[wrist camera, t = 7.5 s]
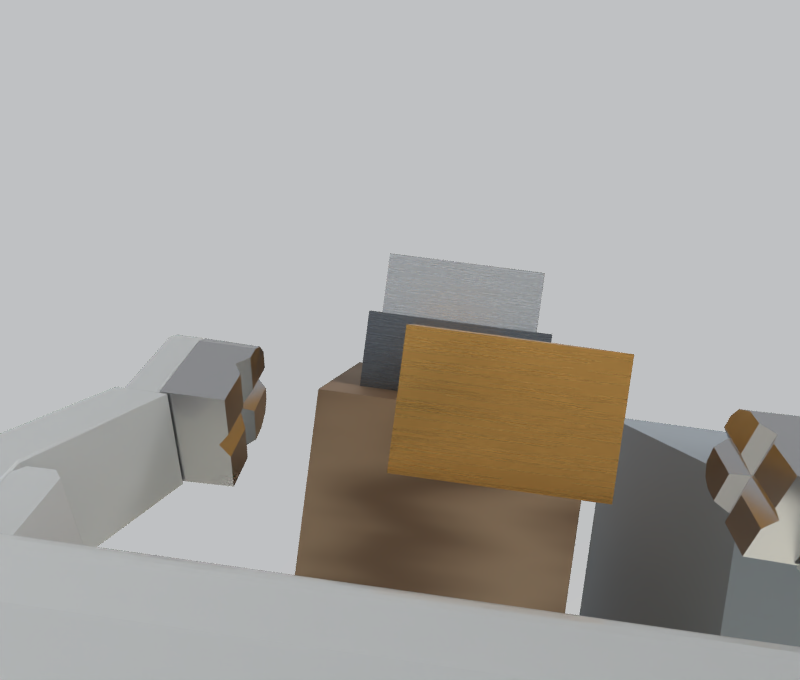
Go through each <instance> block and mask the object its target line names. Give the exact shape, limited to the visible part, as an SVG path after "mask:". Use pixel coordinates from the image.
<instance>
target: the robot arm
mask: <svg viewBox="0 0 800 680" xmlns="http://www.w3.org/2000/svg"><path fill="white" fill-rule="evenodd" d="M264 368H265V366H264V355H263V351H262V349H261V348H260V347H259V346H252V345H245V344H239V343H232V342H225V341H218V340H212V339H203V338H198V337H190V336H183V335H175V336H171V337H170V338H169V339H168V340H167V341H166V342H165V343H164V344H163V345H162V346H161V348H160V349H159V350H158V351H157V352H156V353H155V354H154V356H153V357H152V358H151V359H150V360H149V361H148V362H147V363H146V365H145V366H144V367H143V368H142V369H141V370H140V371H139V372H138V373H137V375H136V376H135V377H134V378H133V379H132V380H131V381H130V383H129V384H128V385H127V386H126V387H125V388H120V387H114V388H112V389H109V390H107V391H104V392H102V393H99V394H97V395H94V396H92V397H89V398H87V399H84V400H82V401H79V402H77V403H74V404H72V405H70V406H67V407H65V408H62V409H60V410H57V411H55V412H52V413H50V414H47V415H45V416H43V417H40V418H38V419H35V420H33V421H30V422H28V423H25V424H23V425H20V426H18V427H15V428H13V429H10V430H8V431H5V432H3V433H0V680H800V647H797V646H790V645H783V644H776V643H769V642H762V641H755V640H748V639H741V638H734V637H727V636H720V635H713V634H706V633H699V632H692V631H685V630H678V629H671V628H664V627H657V626H650V625H643V624H636V623H629V622H622V621H615V620H608V619H601V618H593V617H586V616H579V615H572V614H565V613H558V612H551V611H544V610H537V609H530V608H523V607H516V606H509V605H502V604H495V603H488V602H481V601H474V600H467V599H459V598H452V597H445V596H438V595H431V594H424V593H417V592H410V591H403V590H396V589H389V588H382V587H375V586H368V585H361V584H354V583H347V582H340V581H333V580H326V579H319V578H312V577H304V576H297V575H290V574H283V573H275V572H269V571H262V570H255V569H248V568H241V567H234V566H227V565H220V564H213V563H206V562H198V561H192V560H185V559H178V558H171V557H164V556H157V555H150V554H142V553H135V552H128V551H121V550H114V549H107V548H100V547H97V546H99V545H100V544H101V543H103V542H104V541H105V540H107V539H108V538H109V537H111V536H112V535H114V534H115V533H116V532H118V531H119V530H120V529H122V528H123V527H124V526H126V525H127V524H129V523H130V522H131V521H133V520H134V519H135V518H137V517H138V516H139V515H141V514H142V513H144V512H145V511H146V510H148V509H149V508H150V507H152V506H153V505H154V504H156V503H157V502H158V501H160V500H161V499H163V498H164V497H165V496H167V495H168V494H169V493H171V492H172V491H173V490H175V489H176V488H178V487H179V486H180V485H182V484H183V481H188V482H198V483H207V484H216V485H225V486H234V485H235V483H236V480H237V478H238V476H239V474H240V472H241V470H242V468H243V466H244V464H245V462H246V460H247V444H249V443H251V442H252V441H254V440H256V438H257V436H258V434H259V432H260V429H261V426H262V423H263V419H264V415H265V408H266V407H265V406H266V388H265V387H264V385H263V384H262V383H261V382H260V380H259V377H260V375H261V373H262V372H263V370H264ZM724 428H725V430H726V433H727V436H728V439H726V440H724V441H723V442H721V443H719V444H718V445H716V446H714V447H713V449H712V452H711V454H710V456H709V458H708V460H707V463H706V475H705V478H706V483H707V487H708V490H709V492H710V494H711V496H712V498H713V500H714V501H715V502H716V503H717V504H718V505H719V506H721V507H722V508H723V509H724V510H726V511H727V512H728V515H727V518H726V521H725V524H726V526H727V528H728V529H729V531H730V533H731V535H732V537H733V539H734V541H735V543H736V545H737V547H738V549H739V550H740V552H741V554H742V556H743V557H749V558H755V559H761V560H768V561H774V562H780V563H786V564H792V565H798V566H797V567H796V568H797V569H798V570H799V571H800V416H793V415H784V414H775V413H767V412H758V411H750V410H740V409H739V410H738V411H736V412H735V413H734V414H733V415H731V417H730V418H729V420H728V422H727V424H726V425H725V427H724Z"/></svg>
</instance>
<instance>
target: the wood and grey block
mask: <svg viewBox="0 0 800 680" xmlns="http://www.w3.org/2000/svg"><path fill="white" fill-rule="evenodd" d="M544 275H545V274H544V273H539V272H532V271H524V270H515V269H508V268H499V267H492V266H485V265H476V264H468V263H461V262H453V261H445V260H438V259H430V258H422V257H414V256H406V255H398V254H390V259H389V268H388V275H387V282H386V290H385V298H384V305H383V312H376V311H369V318H368V326H367V334H366V342H365V349H364V357H363V365H362V372H361V380H360V386H365V387H372V388H379V389H387V390H394V391H398V393H397V400H396V408H395V415H394V423H393V431H392V438H391V446H390V453H389V461H388V468H387V473H391V474H398V475H405V476H412V477H419V478H426V479H434V480H441V481H448V482H455V483H462V484H469V485H476V486H483V487H491V488H498V489H505V490H512V491H519V492H526V493H533V494H540V495H548V496H555V497H562V498H569V499H576V500H583V501H591V502H597V503H605V504H612V502H613V495H614V488H615V481H616V474H617V468H618V461H619V454H620V447H621V440H622V433H623V427H624V420H625V413H626V406H627V399H628V393H629V392H628V391H629V386H630V379H631V372H632V365H633V358H634V354H627V353H620V352H613V351H606V350H599V349H592V348H585V347H578V346H571V345H564V344H557V343H551V338H552V335H551V334H543V333H536V332H537V325H538V318H539V311H540V304H541V296H542V290H543V283H544Z"/></svg>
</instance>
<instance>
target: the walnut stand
mask: <svg viewBox="0 0 800 680" xmlns="http://www.w3.org/2000/svg"><path fill="white" fill-rule="evenodd" d="M362 365H363V363H361V362H359V363H358V364H356V365H355V366H353V367H352V368H350V369H349V370H347V371H346V372H344V373H343V374H341V375H340V376H338V377H336V378H335V379H333V380H332V381H330V382H329V383H327V384H326V385H324V386H323V387H321V388H320V389H319V390H318V397H317V406H316V413H315V421H314V429H313V437H312V445H311V453H310V461H309V470H308V477H307V484H306V492H305V500H304V508H303V516H302V524H301V532H300V540H299V547H298V556H297V563H296V571H295V575H297V576H304V577H312V578H319V579H326V580H333V581H340V582H347V583H354V584H361V585H368V586H375V587H382V588H389V589H396V590H403V591H410V592H417V593H424V594H431V595H438V596H445V597H452V598H459V599H467V600H474V601H481V602H488V603H495V604H502V605H509V606H516V607H523V608H530V609H537V610H544V611H551V612H558V613H565V608H566V601H567V594H568V586H569V580H570V574H571V567H572V560H573V552H574V546H575V539H576V531H577V525H578V517H579V511H580V504H581V500H576V499H569V498H562V497H555V496H548V495H540V494H533V493H526V492H519V491H512V490H505V489H498V488H491V487H483V486H476V485H469V484H462V483H455V482H448V481H441V480H434V479H426V478H419V477H412V476H405V475H398V474H391V473H387V468H388V461H389V453H390V446H391V438H392V431H393V423H394V415H395V408H396V400H397V393H398V391H394V390H387V389H379V388H372V387H365V386H360V380H361V372H362Z"/></svg>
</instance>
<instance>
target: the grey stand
mask: <svg viewBox="0 0 800 680" xmlns="http://www.w3.org/2000/svg"><path fill="white" fill-rule="evenodd" d="M726 439H728V436H727V433H726V432H722V431H714V430H707V429H699V428H692V427H685V426H677V425H670V424H662V423H655V422H648V421H640V420H633V419H626V418H625V420H624V427H623V433H622V440H621V447H620V454H619V461H618V468H617V474H616V481H615V488H614V495H613V502H612V504H605V503H597V502H596V506H595V514H594V520H593V527H592V534H591V540H590V547H589V555H588V561H587V568H586V575H585V582H584V588H583V595H582V602H581V609H580V616H586V617H593V618H601V619H608V620H615V621H622V622H629V623H636V624H643V625H650V626H657V627H664V628H671V629H678V630H685V631H692V632H699V633H706V634H713V635H720V636H727V637H734V638H741V639H748V640H755V641H762V642H769V643H776V644H783V645H790V646H797V647H800V571H799V570H798V569H797V568H796V567H797V566H798V565H792V564H786V563H780V562H774V561H768V560H761V559H755V558H749V557H743V556H742V554H741V552H740V550H739V549H738V547H737V545H736V543H735V541H734V539H733V537H732V535H731V533H730V531H729V529H728V528H727V526H726V524H725V521H726V518H727V515H728V512H727V511H726V510H724V509H723V508H722V507H721V506H719V505H718V504H717V503H716V502H715V501H714V500H713V498H712V496H711V494H710V492H709V490H708V487H707V483H706V478H705V475H706V463H707V460H708V458H709V456H710V454H711V452H712V449H713V447H714V446H716V445H718V444H719V443H721V442H723V441H724V440H726Z"/></svg>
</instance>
